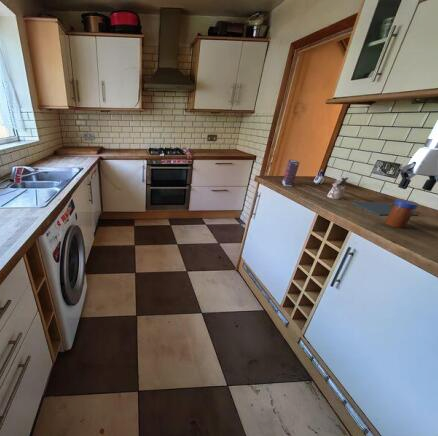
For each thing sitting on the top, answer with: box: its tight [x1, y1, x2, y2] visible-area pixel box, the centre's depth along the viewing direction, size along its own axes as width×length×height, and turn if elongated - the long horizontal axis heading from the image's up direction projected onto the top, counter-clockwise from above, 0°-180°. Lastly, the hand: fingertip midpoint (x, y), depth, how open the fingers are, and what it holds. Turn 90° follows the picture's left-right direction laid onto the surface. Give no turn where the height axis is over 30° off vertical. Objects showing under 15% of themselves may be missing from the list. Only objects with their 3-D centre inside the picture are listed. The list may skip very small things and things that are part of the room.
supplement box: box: [281, 159, 300, 188], centre depth 149 cm, size 9×5×16 cm, turn 161°
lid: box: [393, 198, 420, 210], centre depth 96 cm, size 7×7×2 cm
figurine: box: [327, 176, 349, 200], centre depth 129 cm, size 7×7×12 cm
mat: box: [351, 201, 419, 217], centre depth 117 cm, size 20×16×1 cm
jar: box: [384, 204, 416, 229], centre depth 98 cm, size 6×6×10 cm
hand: (413, 188), depth 93 cm, fingers open, 8 cm apart
